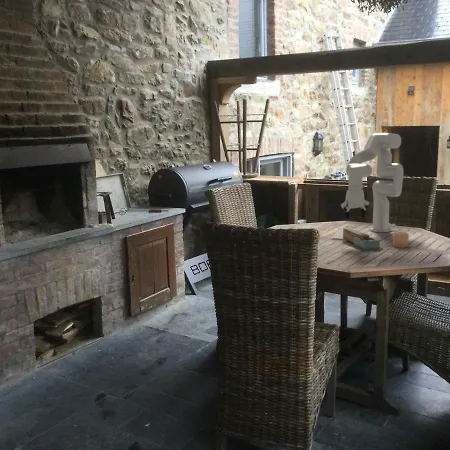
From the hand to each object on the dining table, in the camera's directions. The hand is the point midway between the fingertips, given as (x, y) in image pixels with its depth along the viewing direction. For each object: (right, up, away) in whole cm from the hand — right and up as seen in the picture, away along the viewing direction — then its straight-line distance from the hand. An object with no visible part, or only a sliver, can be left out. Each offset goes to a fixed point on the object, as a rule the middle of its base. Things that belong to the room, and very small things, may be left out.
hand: (355, 217), depth 294 cm
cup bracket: (+3, -16, -10) cm, 20 cm away
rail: (0, -14, -2) cm, 14 cm away
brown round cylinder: (+23, -16, -9) cm, 29 cm away
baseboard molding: (-2, -11, +24) cm, 27 cm away
